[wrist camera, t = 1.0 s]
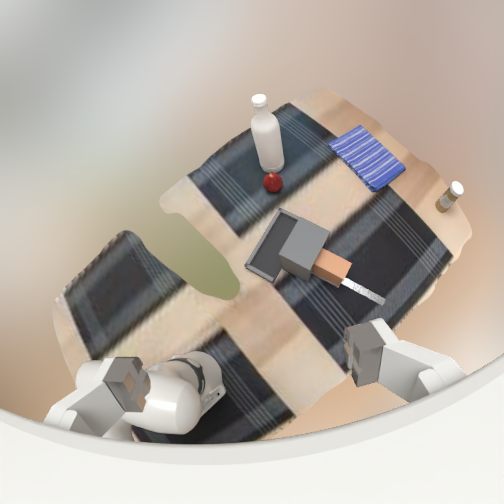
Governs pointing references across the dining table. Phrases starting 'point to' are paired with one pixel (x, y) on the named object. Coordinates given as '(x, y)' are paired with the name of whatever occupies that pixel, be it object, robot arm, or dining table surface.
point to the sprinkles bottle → (449, 196)
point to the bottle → (266, 136)
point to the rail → (363, 291)
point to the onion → (272, 182)
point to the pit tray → (272, 246)
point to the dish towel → (367, 158)
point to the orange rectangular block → (330, 268)
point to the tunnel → (303, 248)
